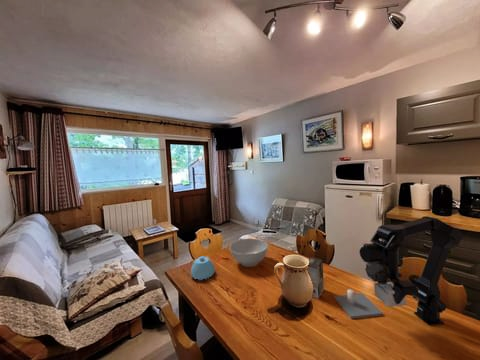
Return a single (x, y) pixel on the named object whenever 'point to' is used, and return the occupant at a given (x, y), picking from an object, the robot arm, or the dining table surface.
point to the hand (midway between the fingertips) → (389, 297)
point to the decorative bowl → (249, 251)
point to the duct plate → (357, 305)
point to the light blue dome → (202, 268)
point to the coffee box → (316, 276)
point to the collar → (387, 294)
